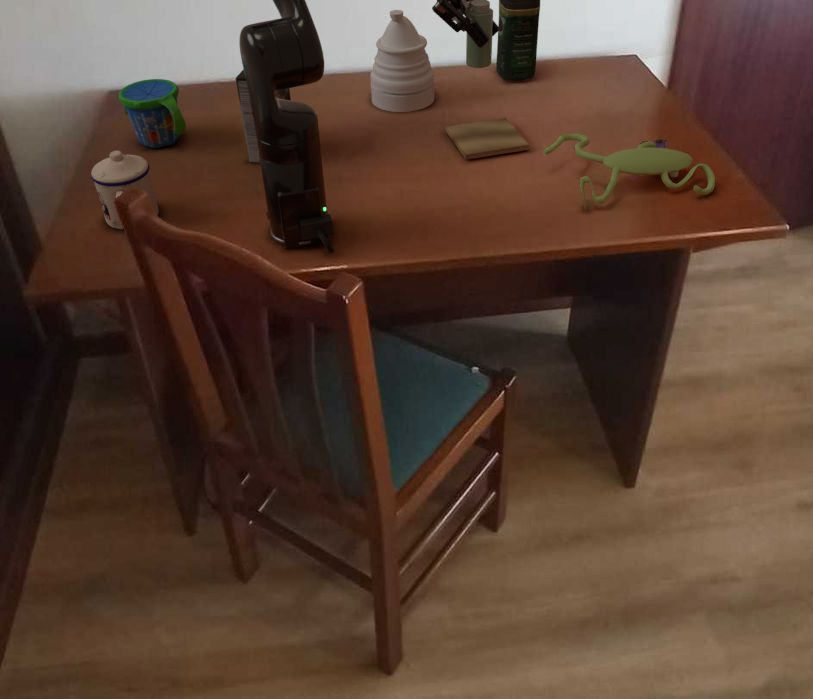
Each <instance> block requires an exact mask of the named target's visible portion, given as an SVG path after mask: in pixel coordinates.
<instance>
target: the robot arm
mask: <svg viewBox="0 0 813 699" xmlns="http://www.w3.org/2000/svg"><path fill="white" fill-rule="evenodd" d="M471 1H473V0H436V2H435V4H434V5H433V6H432V7H431V10H432V12H433V13H435V15H437V17H439V18H440V19H441V20H442V21H443V22H444V23H446V25H448V26H449V27H450V28H451V29H452V30H453V31H454V32H455V33H459V32H460V31H462V32H463V33H464V32H466V34H467V33H468V35H469V36H470V37H471V38H472V40H473V41H474V42H475V43H476V44H477V46H478V47H480V48H481V47H483V46H484V45H485V44H486V43H487V42H488V41H489V37H488V36H487V35H486V33H485V32H484V31H483V30H482V28H481V27H480V26H479V25H478V23H477V22H475V21H474V19H473V17H472V15H471V14H470V12H469V9H470V8H471ZM272 2H273V4H274V6H275V7H276V9H277V11H278V13H279V16H280V18H275V19H271V20H265V21H260V22H255V23H250V24H247V25H245V26H243V27H242V29H240V34H239V40H238V43H239V44H238V45H239V53H240V59H241V64H242V68H243V69H244V73H245V78H246V82H247V87H248V92H249V98H250V104H251V110H252V115H253V119H254V124H255V130H256V137H257V143H258V150H259V157H260V163H259V164H260V169H261V170H260V171H261V176H262V183H263V189H264V195H265V201H266V208H267V212H266V216H267V220H268V221H269V226H270V228H269V231H270V236H271V239H272V240H273V241H274V242H276V243H277V244H280V245H282V246H284V248H285V249H286V250H289V249H295V248H300V247H306V246H313V245H318V244H323V246H324V248H325V249H326V251H327V252H328V253H329V254H333V253H334V252H335V249H334V247H333V246H332V244H331V243H330V241H329V240H328V238H327V237H330V236H331V237H332V236H335V232H334V230H335V229H334V220H333V218H332V215H331V213H328V206H327V197H326V187H325V178H324V168H323V158H322V149H321V139H320V138H321V137H320V130H319V129H320V128H319V118H318V115H317V112H316V110H315V109H314V108H313V107H312V106H311V105H308V103H307V104H306V103H304V102H301V101H297V100H291V101H290V100H284V99H280V98H277V97H276V91H279V90H284V89H288V88H289V89H292V88H297V87H301V86H305V85H310V84H314V83H317V82H319V81H320V80H321V79H322V78H323V76H324V73H325V56H324V50H323V47H322V43H321V39H320V36H319V33H318V31H317V28H316V24H315V22H314V20H313V17H312V15H311V11H310V9H309V7H308V4H307V2H306V0H272ZM474 22H475V23H474ZM498 31H499V27H498V24H497V23H496V22H495V20H493V31H492V37H494V36H495V35H496V34H498ZM243 69H242V70H243Z"/></svg>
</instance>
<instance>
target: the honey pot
mask: <svg viewBox="0 0 813 699" xmlns="http://www.w3.org/2000/svg"><path fill="white" fill-rule="evenodd" d="M389 17H390V19H391V20H390V21H389V23H388V24H387V26H386V27H385V30H384V32H383V34H382V36H381V37H379V38H378V39H377V40H376V42H375V46H376V49H377V51H376V55H375V57H374V62H373V64H372V69H371V72H370V76H369V77H370V94H371V95H370V96H371V104H373V106H375V107H376V108H378V109H379V110H383V111H385V112H386V111H387V112H391V113H410V112H416V111H419V110H423V109H426V108H427V107H429V106H431V105H432V104H433V103H434V101H435V72H434V69H433V67H432V64H431V60H429V59H430V58H429V54H428V52H427V51H426V49H425V48H426V47H427V46H428V39H427V38H426V37H425V36H424V35H421V34H419V32H418V29H417V28H416V26H415V25H414V24H413V22H412V21H411V20H410V19H409V18H408V17H407V16H405V15H404V11H403V10H401V9H392V10H390V11H389Z"/></svg>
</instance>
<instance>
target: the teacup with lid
mask: <svg viewBox="0 0 813 699" xmlns="http://www.w3.org/2000/svg"><path fill="white" fill-rule="evenodd" d="M90 178H91V180H92V181H93V183H94V186H95V189H96V192H97V196H98V199H99V202H100V205H101V209H102V214H103V216H104V220H105V222H106V224H107V225H108V226H110V228H114V229H117V230H122V231H123V227H122V225H121V222H120V220H119V217H118V214H117V211H116V208H115V204H114V201H115V198H117V197H118V196H120V195H121V194H122V193H124V192H125V191H127V190H130V189H141V190H144V191H146V192H147V193H148V194H149V197H150V200H151V203H152V206H153V208H154V210H155V212H156V214H157V217H158V216H159V206H158V201H157V198H156V193H155V190H154V186H153V181H152V177H151V173H150V164H149V163H148V161H147V160H146V159H145V158H143V157H142V156H140V155H136V154H124V153H123V152H122V151H120V150H113V151H111V152H110V153H109V157H106V158H103V159H102V160H100V161H99V162H97V163H95V165H94V166H93V167H92V169H91V173H90Z"/></svg>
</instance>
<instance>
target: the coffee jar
mask: <svg viewBox="0 0 813 699" xmlns="http://www.w3.org/2000/svg"><path fill="white" fill-rule="evenodd" d="M540 11H541V0H498V24H497V26H498V27H499V31H498V32H497V44H496V45H497V46H496V63H495V64H496V66H495V67H496V68H495V69H496V71H497V74H498V75H499V77H500V78H501V79H502V80H503V81H511V82H516V83H520V82H521V83H522V82H525V81H528V80H531V79H534V78H535V76H536V71H537V70H536V69H537V56H538V55H537V52H538V41H539V40H538V39H539V24H540V23H539V21H540Z"/></svg>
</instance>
